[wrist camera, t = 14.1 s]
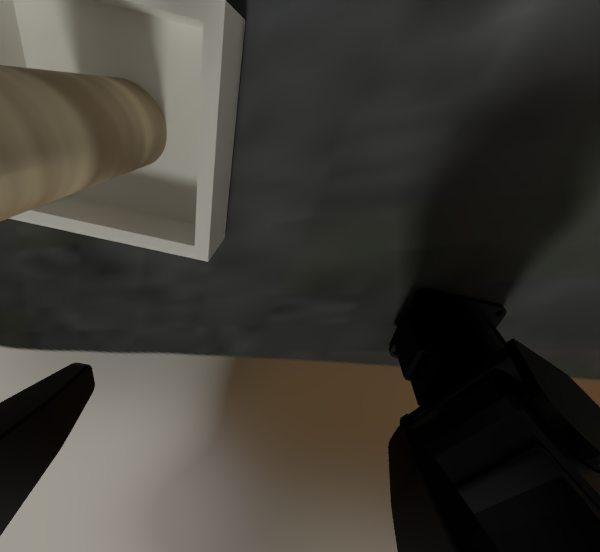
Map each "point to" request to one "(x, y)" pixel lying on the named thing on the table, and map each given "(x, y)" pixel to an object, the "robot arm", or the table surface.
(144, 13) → the tray
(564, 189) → the table surface
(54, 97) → the birch dowel
